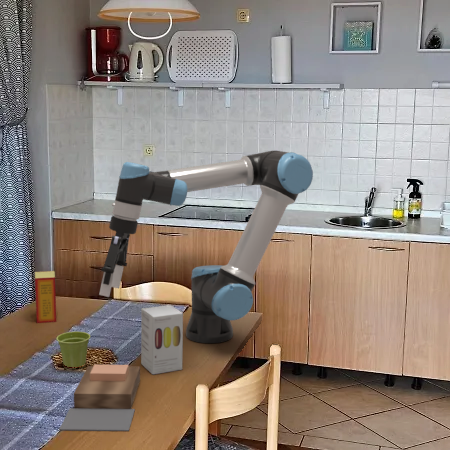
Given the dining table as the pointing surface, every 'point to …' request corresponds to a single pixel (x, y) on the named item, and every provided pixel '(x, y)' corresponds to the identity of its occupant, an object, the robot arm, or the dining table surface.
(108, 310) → the dining table surface
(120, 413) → the mat
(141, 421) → the dining table surface
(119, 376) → the tile
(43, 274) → the baking soda box
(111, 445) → the dining table surface
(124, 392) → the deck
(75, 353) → the plant pot
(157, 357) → the supplement box
